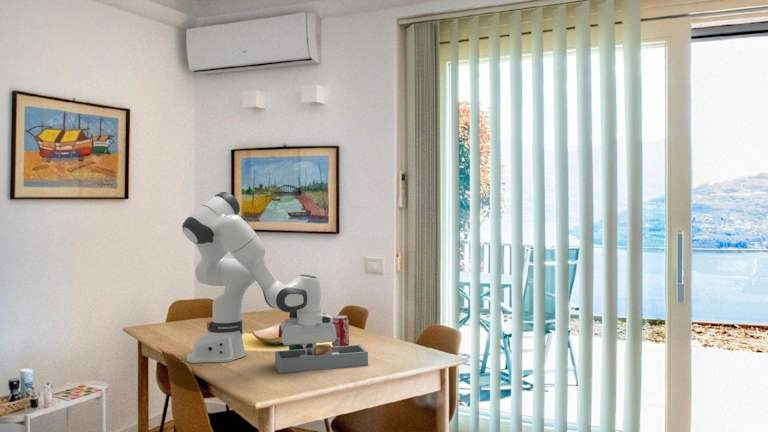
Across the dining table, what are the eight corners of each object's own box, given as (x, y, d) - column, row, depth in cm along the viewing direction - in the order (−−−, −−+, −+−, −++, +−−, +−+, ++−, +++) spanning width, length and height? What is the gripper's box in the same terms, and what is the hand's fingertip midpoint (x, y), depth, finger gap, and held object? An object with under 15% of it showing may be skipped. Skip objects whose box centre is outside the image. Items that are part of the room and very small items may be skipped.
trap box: (278, 373, 209) (278, 359, 209) (275, 364, 221) (275, 351, 221) (367, 365, 219) (367, 352, 219) (360, 357, 230) (360, 344, 230)
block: (316, 359, 216) (316, 348, 216) (313, 355, 222) (313, 345, 222) (332, 358, 218) (332, 347, 218) (329, 354, 224) (329, 343, 223)
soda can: (346, 349, 242) (346, 318, 242) (329, 349, 244) (329, 318, 243) (350, 345, 249) (350, 315, 249) (334, 345, 251) (334, 314, 250)
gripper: (281, 321, 212) (282, 359, 212) (337, 318, 218) (337, 355, 218) (279, 318, 218) (280, 355, 218) (333, 315, 224) (334, 351, 224)
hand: (309, 355), depth 218 cm, fingers closed
